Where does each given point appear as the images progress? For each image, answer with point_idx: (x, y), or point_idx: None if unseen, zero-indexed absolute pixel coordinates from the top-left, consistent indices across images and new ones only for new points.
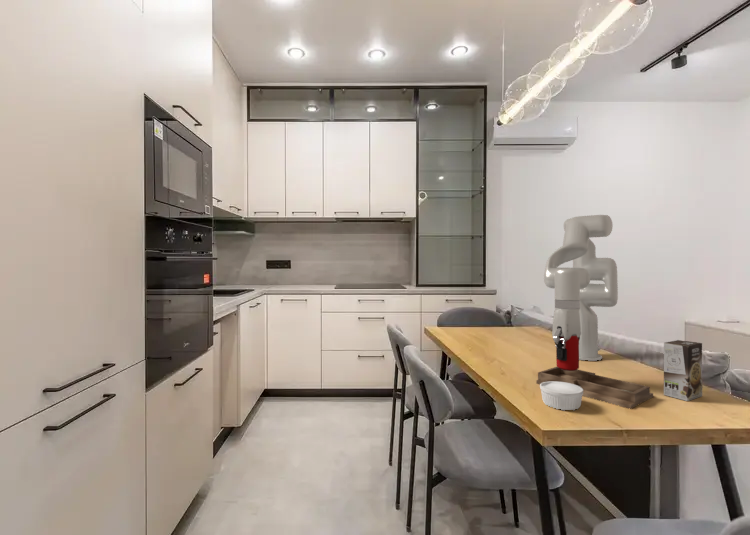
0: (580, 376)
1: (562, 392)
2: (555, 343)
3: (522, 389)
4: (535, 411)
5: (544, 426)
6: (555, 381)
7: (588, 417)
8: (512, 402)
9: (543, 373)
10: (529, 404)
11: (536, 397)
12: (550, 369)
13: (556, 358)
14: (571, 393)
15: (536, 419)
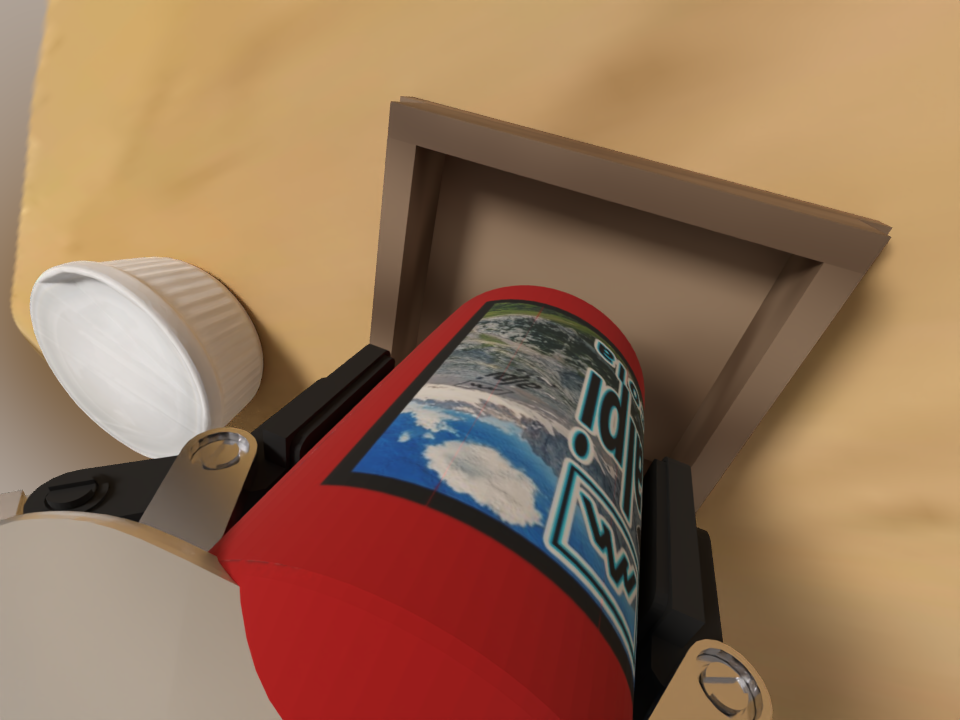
0: (701, 415)
1: (67, 386)
2: (83, 477)
3: (216, 65)
4: (64, 255)
5: (18, 313)
6: (166, 335)
7: None
8: (34, 121)
9: (393, 166)
10: (89, 207)
11: (181, 206)
12: (594, 182)
13: (457, 322)
14: (92, 419)
15: (26, 278)
